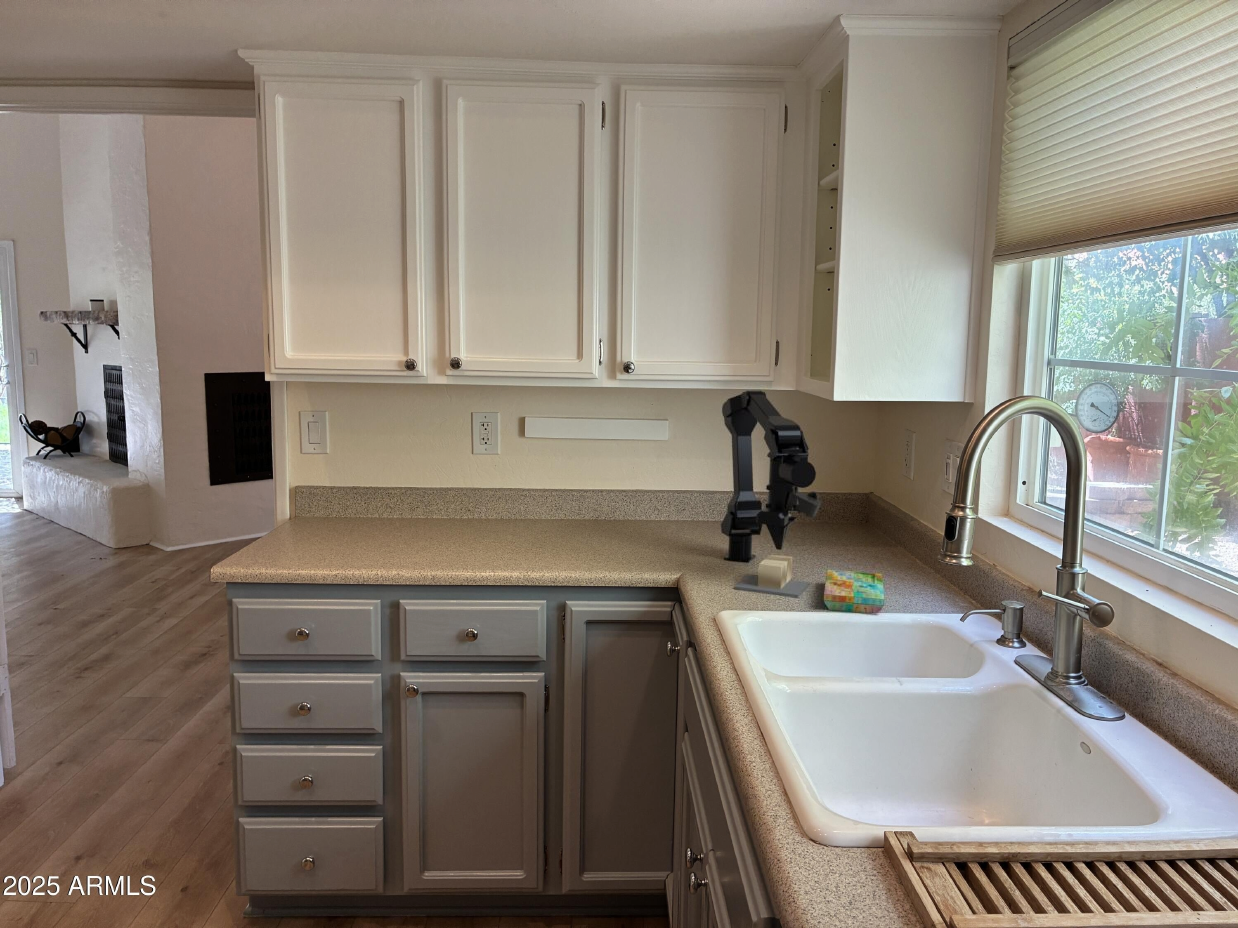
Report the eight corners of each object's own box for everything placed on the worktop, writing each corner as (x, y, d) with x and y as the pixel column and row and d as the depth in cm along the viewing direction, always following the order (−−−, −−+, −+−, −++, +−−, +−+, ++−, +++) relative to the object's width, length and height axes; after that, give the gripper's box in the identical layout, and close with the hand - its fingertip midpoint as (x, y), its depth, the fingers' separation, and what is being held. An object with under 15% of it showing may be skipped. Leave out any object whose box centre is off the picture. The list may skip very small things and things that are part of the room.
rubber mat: (748, 577, 211) (748, 574, 211) (809, 585, 206) (809, 582, 205) (734, 589, 201) (734, 586, 201) (798, 597, 196) (798, 594, 195)
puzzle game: (824, 589, 186) (827, 565, 205) (823, 612, 187) (826, 586, 206) (884, 594, 183) (882, 570, 202) (883, 617, 184) (880, 590, 203)
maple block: (770, 554, 210) (758, 563, 201) (792, 556, 208) (781, 566, 199) (769, 575, 211) (757, 586, 202) (791, 578, 209) (780, 589, 200)
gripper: (808, 489, 192) (805, 562, 195) (827, 477, 209) (824, 544, 212) (756, 485, 197) (754, 556, 199) (779, 473, 214) (776, 539, 216)
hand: (779, 549), depth 206 cm, fingers closed
